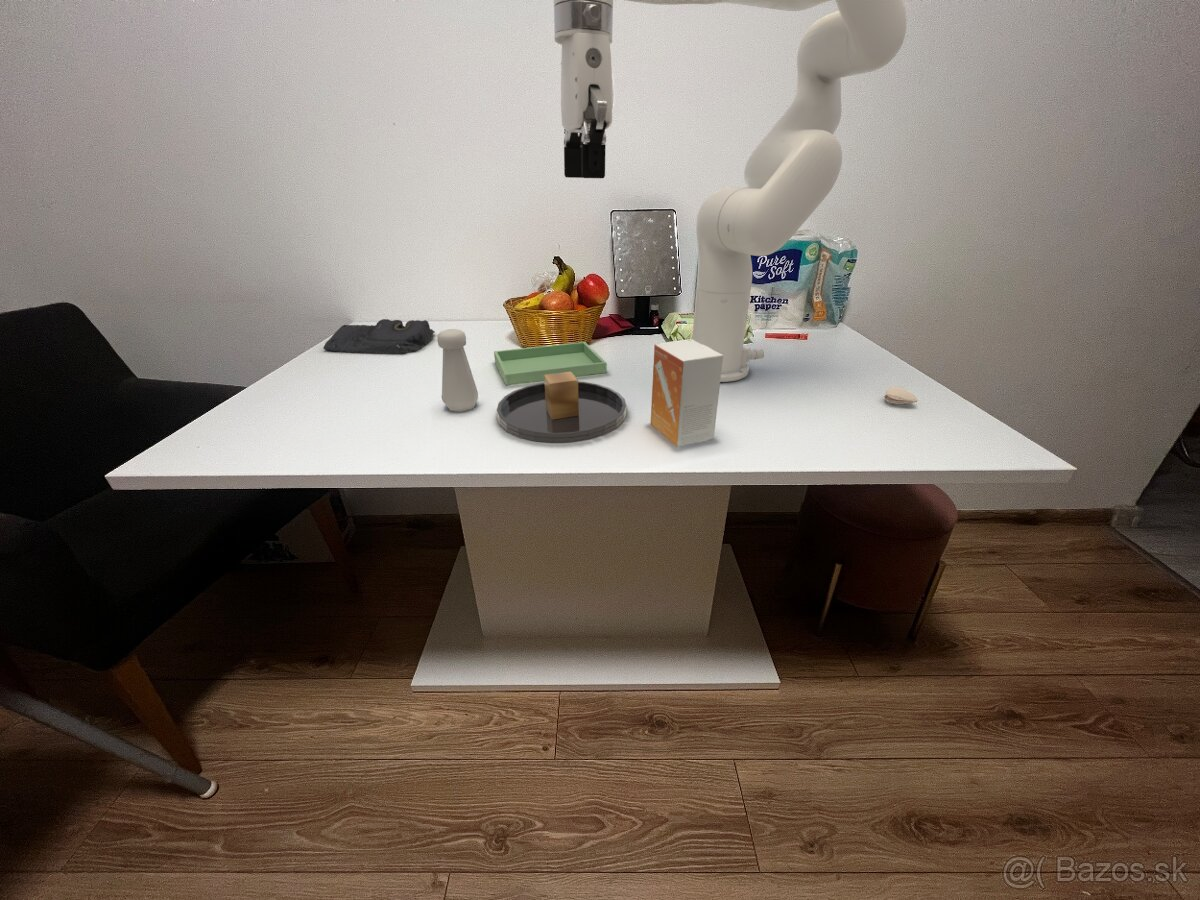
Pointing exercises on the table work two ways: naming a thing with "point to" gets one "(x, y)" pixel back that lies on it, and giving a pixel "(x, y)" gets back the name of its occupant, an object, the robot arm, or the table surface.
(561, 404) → the block
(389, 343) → the dark crumpled cloth
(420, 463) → the table surface
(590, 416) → the pan
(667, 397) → the small box
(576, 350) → the tray
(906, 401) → the beige pistachio shell
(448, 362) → the salt shaker
